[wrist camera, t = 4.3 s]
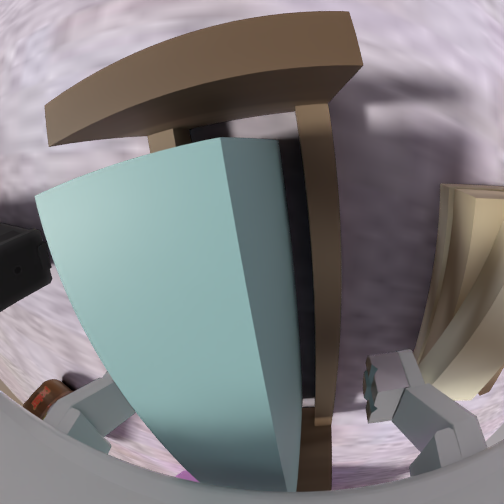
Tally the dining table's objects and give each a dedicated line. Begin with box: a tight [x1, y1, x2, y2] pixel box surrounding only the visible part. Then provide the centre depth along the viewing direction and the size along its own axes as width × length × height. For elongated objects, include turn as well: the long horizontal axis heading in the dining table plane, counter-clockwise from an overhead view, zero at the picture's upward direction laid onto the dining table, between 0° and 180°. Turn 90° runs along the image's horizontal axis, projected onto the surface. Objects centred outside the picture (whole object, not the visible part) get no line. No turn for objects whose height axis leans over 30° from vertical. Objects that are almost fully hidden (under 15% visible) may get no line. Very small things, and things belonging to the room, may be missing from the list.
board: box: [35, 137, 303, 492], centre depth 8 cm, size 14×2×8 cm, turn 9°
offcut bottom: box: [413, 184, 504, 364], centre depth 10 cm, size 10×5×2 cm, turn 8°
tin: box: [23, 379, 74, 420], centre depth 18 cm, size 15×3×8 cm, turn 157°
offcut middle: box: [418, 189, 504, 365], centre depth 9 cm, size 9×5×2 cm, turn 7°
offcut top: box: [418, 220, 504, 400], centre depth 7 cm, size 8×4×2 cm, turn 165°
